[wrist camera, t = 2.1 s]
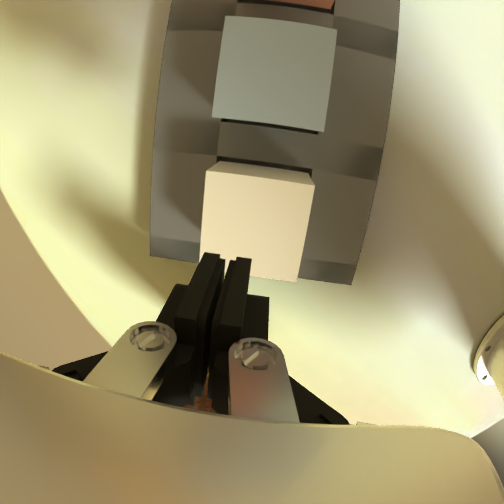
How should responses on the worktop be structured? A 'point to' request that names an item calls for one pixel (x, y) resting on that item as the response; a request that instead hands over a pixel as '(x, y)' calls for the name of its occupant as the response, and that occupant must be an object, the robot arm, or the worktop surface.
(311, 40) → the grey-blue square block
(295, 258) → the white key
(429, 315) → the worktop surface
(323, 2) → the red key
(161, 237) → the keypad base
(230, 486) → the robot arm
